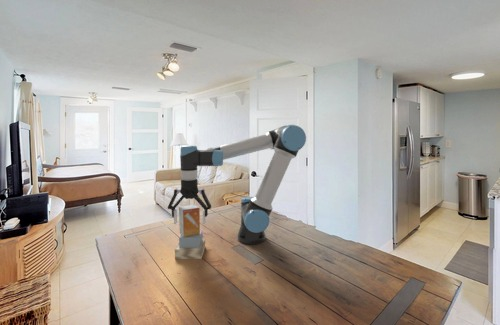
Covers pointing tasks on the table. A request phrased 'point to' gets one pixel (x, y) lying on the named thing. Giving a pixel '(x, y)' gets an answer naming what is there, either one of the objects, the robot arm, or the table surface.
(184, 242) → the tower top
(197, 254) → the tower base
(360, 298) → the table surface
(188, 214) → the small box
